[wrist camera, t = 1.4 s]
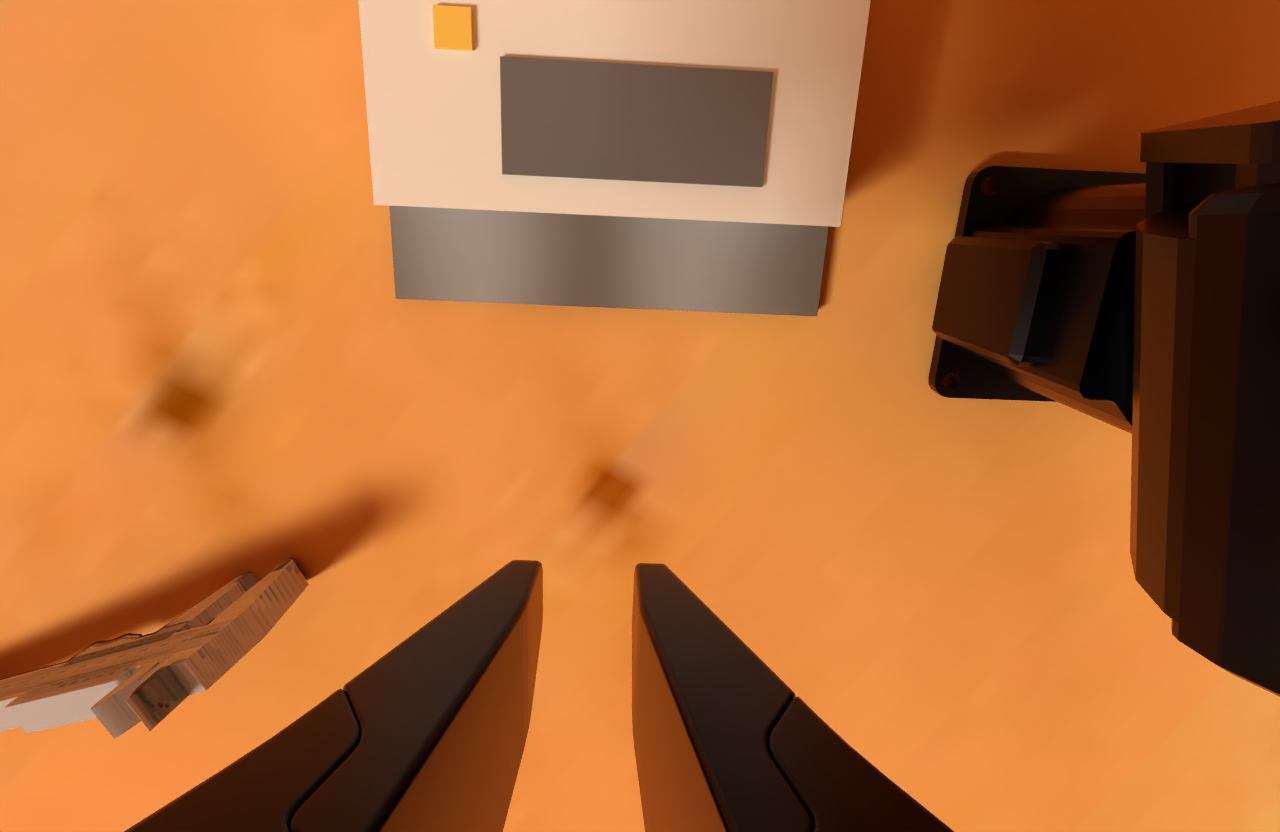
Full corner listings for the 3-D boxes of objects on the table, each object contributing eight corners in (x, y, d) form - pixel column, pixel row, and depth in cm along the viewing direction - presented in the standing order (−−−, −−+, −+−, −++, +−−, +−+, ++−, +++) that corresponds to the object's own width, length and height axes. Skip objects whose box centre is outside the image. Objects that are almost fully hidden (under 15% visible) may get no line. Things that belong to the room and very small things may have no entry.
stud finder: (835, 19, 16) (875, -17, 14) (810, 225, 18) (842, 227, 15) (395, -8, 16) (351, -50, 13) (408, 205, 17) (371, 204, 15)
